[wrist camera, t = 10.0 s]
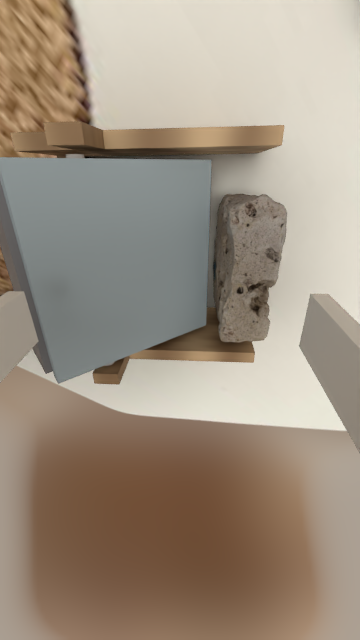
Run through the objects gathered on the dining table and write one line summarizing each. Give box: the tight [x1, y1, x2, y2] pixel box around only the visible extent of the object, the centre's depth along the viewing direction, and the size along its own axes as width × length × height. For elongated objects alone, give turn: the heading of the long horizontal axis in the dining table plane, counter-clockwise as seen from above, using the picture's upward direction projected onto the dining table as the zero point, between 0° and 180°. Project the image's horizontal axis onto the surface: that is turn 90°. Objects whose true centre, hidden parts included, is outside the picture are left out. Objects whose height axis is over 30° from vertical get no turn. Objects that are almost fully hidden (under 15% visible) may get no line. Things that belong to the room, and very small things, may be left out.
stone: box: [213, 194, 287, 343], centre depth 25 cm, size 13×6×10 cm, turn 5°
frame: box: [10, 122, 284, 384], centre depth 24 cm, size 17×17×12 cm
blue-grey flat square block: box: [0, 154, 211, 384], centre depth 23 cm, size 14×14×6 cm
